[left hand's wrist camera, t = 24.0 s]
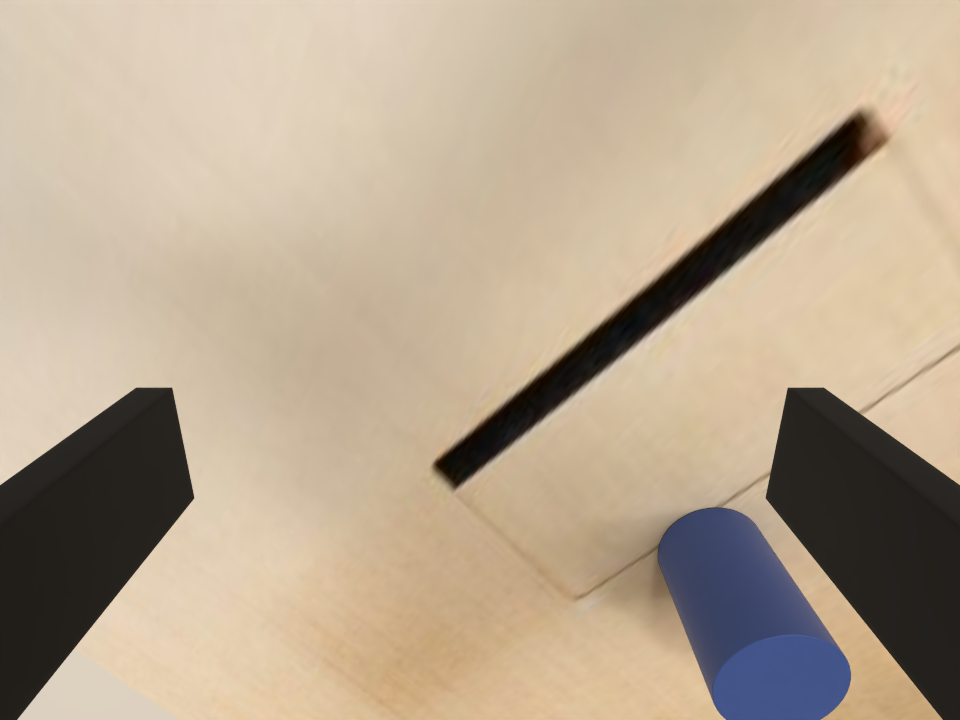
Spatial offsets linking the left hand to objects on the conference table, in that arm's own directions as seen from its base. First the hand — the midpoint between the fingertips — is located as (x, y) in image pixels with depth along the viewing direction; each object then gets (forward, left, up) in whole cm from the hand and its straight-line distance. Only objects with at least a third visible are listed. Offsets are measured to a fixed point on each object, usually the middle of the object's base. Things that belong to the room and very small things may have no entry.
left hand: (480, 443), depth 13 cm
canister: (+23, +13, -22) cm, 34 cm away
